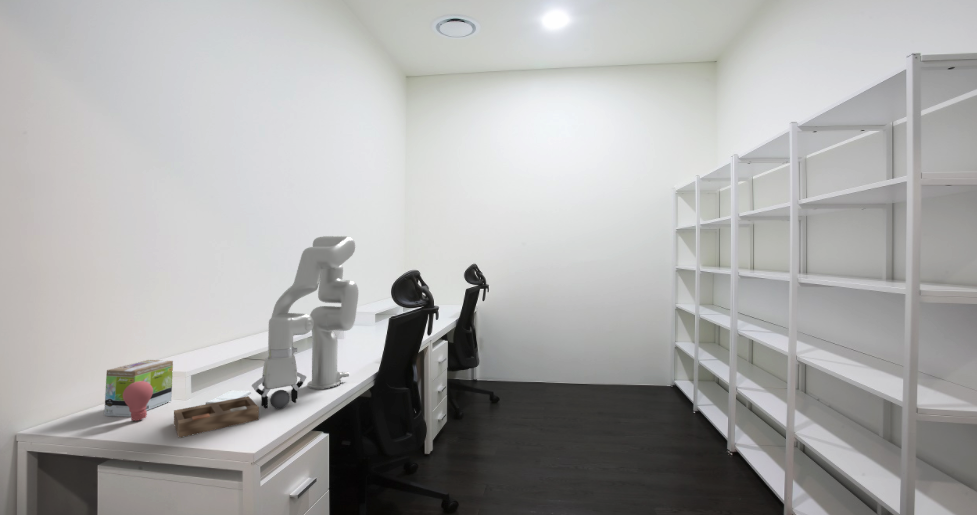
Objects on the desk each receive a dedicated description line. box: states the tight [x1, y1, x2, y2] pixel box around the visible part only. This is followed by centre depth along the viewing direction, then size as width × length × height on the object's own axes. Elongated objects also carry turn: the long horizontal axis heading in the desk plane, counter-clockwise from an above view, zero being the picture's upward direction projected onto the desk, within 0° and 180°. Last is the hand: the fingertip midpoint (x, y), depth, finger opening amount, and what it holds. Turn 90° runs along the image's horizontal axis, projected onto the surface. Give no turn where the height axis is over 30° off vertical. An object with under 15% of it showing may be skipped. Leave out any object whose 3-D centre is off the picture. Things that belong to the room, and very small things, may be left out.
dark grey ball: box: [269, 389, 291, 409], centre depth 138 cm, size 6×6×6 cm
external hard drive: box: [205, 390, 252, 404], centre depth 146 cm, size 2×8×12 cm
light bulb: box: [123, 381, 153, 421], centre depth 126 cm, size 7×7×12 cm
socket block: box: [173, 395, 260, 438], centre depth 126 cm, size 20×14×4 cm
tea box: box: [103, 359, 174, 418], centre depth 136 cm, size 15×10×15 cm
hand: (279, 404), depth 138 cm, fingers open, 8 cm apart
